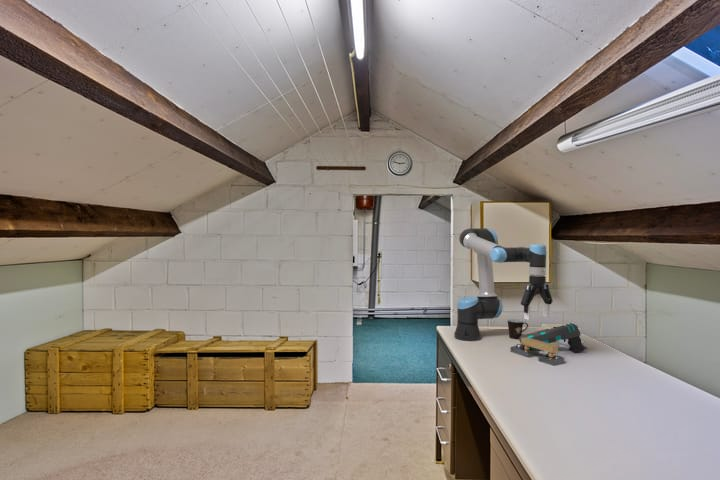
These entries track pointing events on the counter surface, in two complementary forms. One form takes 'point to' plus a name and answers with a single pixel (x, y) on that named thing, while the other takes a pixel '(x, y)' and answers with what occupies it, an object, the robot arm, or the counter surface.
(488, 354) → the counter surface
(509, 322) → the coffee mug
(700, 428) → the counter surface
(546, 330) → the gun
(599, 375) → the counter surface
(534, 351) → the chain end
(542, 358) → the chain end
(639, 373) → the counter surface
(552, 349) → the gold bar
